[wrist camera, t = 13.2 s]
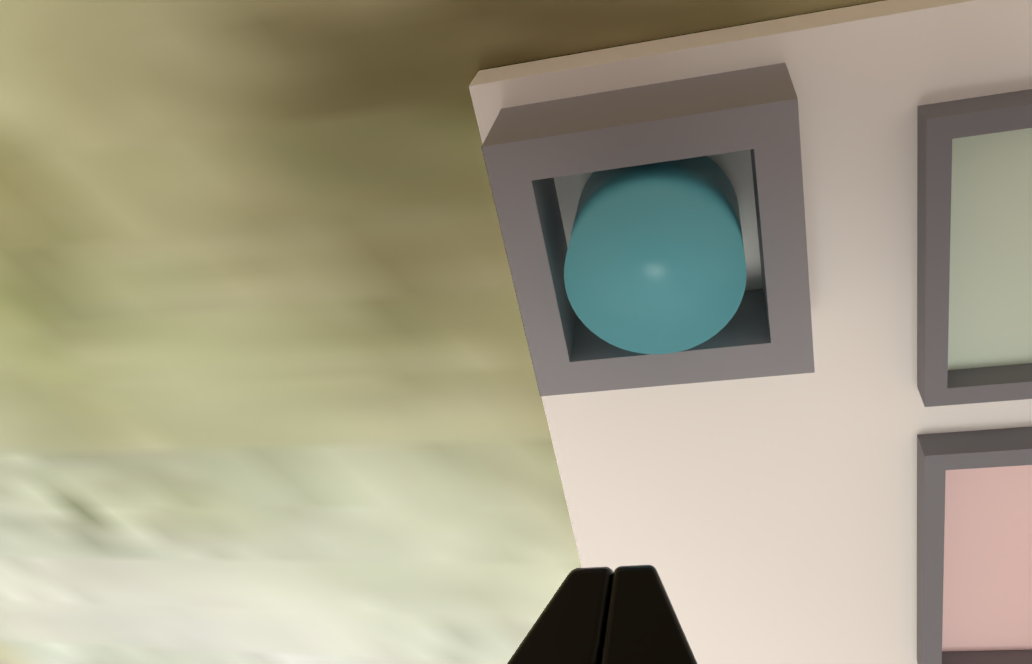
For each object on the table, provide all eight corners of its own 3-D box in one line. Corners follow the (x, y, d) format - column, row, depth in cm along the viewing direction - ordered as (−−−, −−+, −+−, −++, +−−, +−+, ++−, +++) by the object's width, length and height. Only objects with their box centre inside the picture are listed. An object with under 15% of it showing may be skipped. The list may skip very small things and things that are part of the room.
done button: (731, 129, 17) (738, 181, 15) (745, 279, 18) (753, 345, 16) (563, 154, 17) (548, 207, 15) (591, 296, 19) (580, 362, 17)
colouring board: (1583, -121, 14) (1785, -94, 11) (1334, 664, 22) (1419, 781, 20) (479, 70, 18) (445, 122, 15) (616, 675, 26) (609, 774, 23)
